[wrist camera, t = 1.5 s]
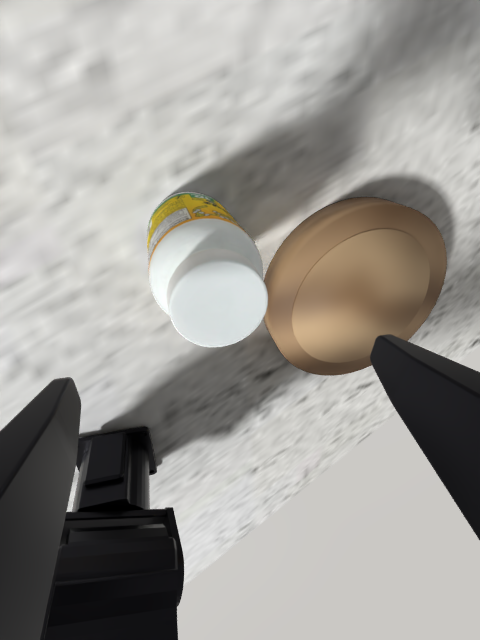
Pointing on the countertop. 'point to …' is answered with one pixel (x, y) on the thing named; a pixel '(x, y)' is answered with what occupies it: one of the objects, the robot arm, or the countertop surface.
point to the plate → (352, 283)
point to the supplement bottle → (205, 270)
